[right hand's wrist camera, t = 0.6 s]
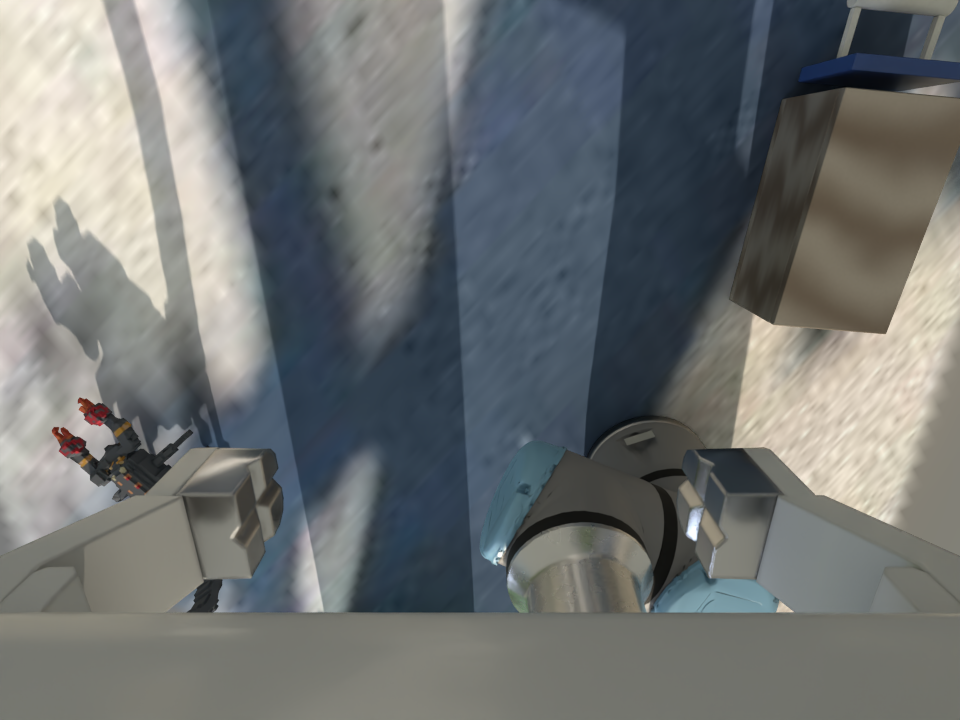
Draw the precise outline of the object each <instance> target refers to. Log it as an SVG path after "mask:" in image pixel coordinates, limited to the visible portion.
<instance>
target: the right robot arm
mask: <svg viewBox="0 0 960 720" xmlns="http://www.w3.org/2000/svg"><path fill="white" fill-rule="evenodd" d="M277 470H278V464H277V459H276V454H275V453H274V452H273V451H272V450H271V449H253V448H218V447H217V448H194V449H190V450H189V451H188V452H187V453H186V454H185V455H184V456H183V457H182V458H181V459H180V460H179V461H178V462H177V463H176V464H175V465H174V466H173V467H172V468H171V469H170V470H169V471H168V472H167V473H166V474H165V475H164V476H163V477H162V478H161V479H160V480H159V481H158V482H157V483H156V484H155V485H154V486H153V487H152V488H151V489H150V490H149V491H148V492H147V493H146V494H145V495H136V496H133V497H131V498H129V499H127V500H125V501H122V502H120V503H118V504H116V505H113V506H111V507H109V508H107V509H104V510H102V511H100V512H98V513H95V514H93V515H91V516H89V517H86V518H84V519H82V520H80V521H77V522H75V523H73V524H71V525H68V526H66V527H64V528H62V529H59V530H57V531H55V532H53V533H50V534H48V535H46V536H44V537H41V538H39V539H37V540H35V541H32V542H30V543H28V544H26V545H23V546H21V547H19V548H17V549H14V550H12V551H10V552H8V553H6V554H3V555H1V556H0V720H960V556H959V555H956V554H954V553H952V552H950V551H947V550H945V549H943V548H941V547H938V546H936V545H934V544H932V543H930V542H927V541H925V540H923V539H921V538H918V537H916V536H914V535H912V534H909V533H907V532H905V531H903V530H900V529H898V528H896V527H894V526H891V525H889V524H887V523H885V522H883V521H880V520H878V519H876V518H874V517H871V516H869V515H867V514H865V513H862V512H860V511H858V510H856V509H853V508H851V507H849V506H847V505H844V504H842V503H840V502H838V501H835V500H833V499H831V498H829V497H827V496H824V495H815V494H814V493H813V492H812V491H811V490H810V489H809V488H808V487H807V486H806V485H805V484H804V483H803V482H802V481H801V480H800V479H799V478H798V477H797V476H796V475H795V474H794V473H793V472H792V471H791V470H790V469H789V468H788V467H787V466H786V465H785V464H784V463H783V462H782V461H781V460H780V459H779V458H778V457H777V456H776V455H775V454H774V453H773V452H772V451H771V450H770V449H767V448H764V447H759V448H730V449H692V450H687V451H686V453H685V455H684V458H683V463H682V470H683V471H684V473H685V474H686V476H687V479H686V480H685V481H684V482H683V483H682V484H681V485H680V486H679V487H678V493H677V501H676V503H677V515H678V519H679V522H680V525H681V528H682V529H683V531H684V533H685V535H686V536H687V537H689V538H690V539H692V540H693V541H695V542H696V546H695V551H694V552H695V554H696V556H697V558H698V559H699V561H700V563H701V565H702V567H703V569H704V570H705V572H706V574H707V576H708V578H714V579H751V580H756V582H757V583H758V584H759V585H761V586H762V587H763V588H765V589H766V590H767V591H768V592H770V593H771V594H772V595H773V596H775V597H776V598H777V599H779V600H780V601H781V602H782V603H784V604H785V605H786V606H787V607H789V608H790V609H791V610H793V611H794V612H762V613H165V612H166V611H168V610H169V609H170V608H171V607H173V606H174V605H175V604H177V603H178V602H179V601H180V600H182V599H183V598H184V597H185V596H187V595H188V594H189V593H191V592H192V591H193V590H194V589H196V588H197V587H198V586H199V585H201V584H202V583H203V582H204V580H209V579H244V578H252V576H253V574H254V572H255V570H256V569H257V567H258V565H259V563H260V561H261V559H262V558H263V556H264V554H265V552H266V551H265V546H264V542H265V541H267V540H268V539H270V538H271V537H273V536H274V535H275V533H276V531H277V529H278V527H279V525H280V522H281V518H282V513H283V493H282V487H281V486H280V485H279V484H278V483H277V482H276V481H275V480H274V479H273V476H274V475H275V473H276V471H277Z"/></svg>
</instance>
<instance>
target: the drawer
mask: <svg viewBox="0 0 960 720" xmlns="http://www.w3.org/2000/svg"><path fill="white" fill-rule="evenodd" d="M957 3H958V0H847V6H848V7H849V8H852V9H851V10H850V13H849V17H848V20H847V23H846V27H845V30H844V34H843V37H842V41H841V44H840V47H839V51H838V54H837V58H836V59H832V60H829V61H825V62H821V63H818V64H814V65H810V66H807V67H803V68H802V70H801V73H800V77H799V81H798V82H803V83H814V84H824V85H835V86H845V87H856V88H866V89H877V90H887V91H904V90H910V89H917V88H923V87H930V86H936V85H942V84H949V83H955V82H960V63H958V62H948V61H938V60H930V59H931V57H932V54H933V51H934V48H935V45H936V42H937V40H938V37H939V34H940V31H941V28H942V25H943V22H944V20H945V17H946V16H948V15H949V14H950V13H951V12H952V11H953V10H954V9H955V7H956V5H957ZM861 9H867V10H877V11H887V12H897V13H907V14H917V15H927V16H935V17H934V18H933V20H932V23H931V26H930V29H929V32H928V35H927V38H926V41H925V44H924V47H923V49H922V52H921V55H920V58H919V59H917V58H907V57H897V56H887V55H876V54H866V53H854V54H851V55H848V52H849V49H850V45H851V42H852V39H853V35H854V32H855V29H856V25H857V22H858V19H859V15H860V12H861Z"/></svg>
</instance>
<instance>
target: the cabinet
mask: <svg viewBox="0 0 960 720" xmlns="http://www.w3.org/2000/svg"><path fill="white" fill-rule="evenodd" d="M959 145H960V98H954V97H944V96H934V95H923V94H913V93H902V92H892V91H881V90H871V89H860V88H850V87H845V88H839V89H833V90H828V91H823V92H818V93H812V94H807V95H802V96H796V97H791V98H786V99H782V102H781V106H780V110H779V113H778V117H777V121H776V125H775V128H774V132H773V136H772V140H771V143H770V147H769V151H768V155H767V158H766V162H765V166H764V170H763V173H762V177H761V181H760V185H759V188H758V192H757V196H756V200H755V203H754V207H753V211H752V215H751V218H750V222H749V226H748V230H747V233H746V237H745V241H744V245H743V248H742V252H741V256H740V260H739V263H738V267H737V271H736V275H735V279H734V282H733V286H732V290H731V294H730V297H729V300H731V301H733V302H734V303H736V304H738V305H740V306H741V307H743V308H745V309H747V310H748V311H750V312H752V313H754V314H755V315H757V316H759V317H760V318H762V319H764V320H766V321H767V322H769V323H771V324H773V325H779V326H791V327H804V328H816V329H828V330H840V331H853V332H865V333H877V334H886V332H887V330H888V327H889V325H890V322H891V319H892V317H893V314H894V312H895V309H896V307H897V304H898V301H899V299H900V296H901V294H902V291H903V289H904V286H905V283H906V281H907V278H908V276H909V273H910V271H911V268H912V266H913V263H914V260H915V258H916V255H917V253H918V250H919V248H920V245H921V242H922V240H923V237H924V235H925V232H926V230H927V227H928V224H929V222H930V219H931V217H932V214H933V212H934V209H935V207H936V204H937V201H938V199H939V196H940V194H941V191H942V189H943V186H944V183H945V181H946V178H947V176H948V173H949V171H950V168H951V165H952V163H953V160H954V158H955V155H956V153H957V150H958V148H959Z"/></svg>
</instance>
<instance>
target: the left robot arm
mask: <svg viewBox="0 0 960 720" xmlns="http://www.w3.org/2000/svg"><path fill="white" fill-rule="evenodd" d="M692 449H706V448H705V446H704V445H703V443H702V442H701V441H700V439H699V438H698V437H697V436H696V434H695V433H694V432H693V431H692V430H691V429H689V428H688V427H687V426H685V425H684V424H682V423H680V422H678V421H676V420H673V419H670V418H665V417H659V416H644V417H638V418H633V419H630V420H627V421H624V422H622V423H620V424H618V425H616V426H614V427H612V428H611V429H609V430H608V431H607V432H605V433H604V434H603V435H602V436H601V437H600V438H599V439H598V440H597V441H596V442H595V444H594V445H593V446H592V448H591V450H590V451H589V453H588V456H587V458H586V457H584V456H581V455H578V454H576V453H573V452H571V451H568V450H567V448H566V447H558V446H555V445H552V444H549V443H546V442H543V441H531V442H529V443H527V444H526V445H524V446H523V447H522V448H521V449H520V450H519V451H518V452H517V454H516V455H515V457H514V458H513V460H512V461H511V463H510V464H509V466H508V468H507V470H506V472H505V473H504V475H503V477H502V479H501V482H500V484H499V486H498V488H497V490H496V493H495V495H494V497H493V500H492V502H491V505H490V508H489V510H488V513H487V516H486V519H485V523H484V526H483V530H482V534H481V540H480V551H481V554H482V556H483V557H484V558H486V559H488V560H490V561H491V562H492V564H495V565H497V564H498V563H499V564H501V565H504V566H506V572H507V588H508V592H509V596H510V598H511V601H512V603H513V604H514V606H515V608H516V609H517V610H518V611H519V613H762V612H776V611H777V608H778V604H779V599H777V598H776V597H775V596H773V595H772V594H771V593H770V592H768V591H767V590H766V589H765V588H763V587H762V586H761V585H759V584H758V583H757V582H756V580H751V579H714V578H708V576H707V574H706V572H705V570H704V569H703V567H702V565H701V563H700V561H699V559H698V558H697V556H696V554H695V552H694V551H695V546H696V542H695V541H693V540H692V539H690V538H689V537H687V536H686V535H685V533H684V531H683V529H682V528H681V525H680V522H679V519H678V515H677V503H676V501H677V493H678V487H679V486H680V485H681V484H682V483H683V482H684V481H685V480H686V479H687V476H686V474H685V473H684V471H683V470H682V463H683V458H684V455H685V453H686V451H687V450H692Z"/></svg>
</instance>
